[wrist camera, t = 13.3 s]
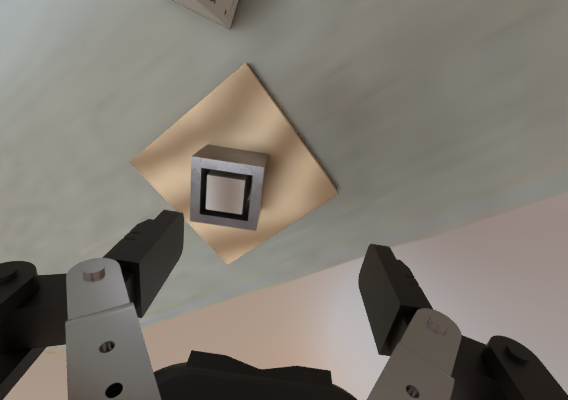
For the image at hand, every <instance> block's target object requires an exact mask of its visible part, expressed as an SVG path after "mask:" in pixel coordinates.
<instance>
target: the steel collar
mask: <svg viewBox="0 0 568 400" xmlns="http://www.w3.org/2000/svg"><path fill="white" fill-rule="evenodd" d="M268 157H269V154H266V153H260V152H254V151H247V150H241V149H234V148H228V147H221V146H215V145H209V144H207V145H206V146H204V147H203V148H202V149H200V150H199V151H198V152H196V153H195V154H194V155H192V156H191V191H190V221H192V222H199V223H206V224H212V225H219V226H226V227H233V228H240V229H246V230H253V231H256V230H257V226H258V222H259V218H260V214H261V210H262V203H263V195H264V187H265V180H266V172H267V165H268ZM212 169H213V170H220V171H226V172H233V173H239V174H246V175H252V176H253V180H252V189H251V198H250V200H247V202H246V205H245V207H244V210H243V213H242V214H235V213H228V212H221V211H215V210H208V209H206V191H207V175H208V174H209V172H210V171H211V170H212Z"/></svg>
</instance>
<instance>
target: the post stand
mask: <svg viewBox="0 0 568 400" xmlns="http://www.w3.org/2000/svg"><path fill="white" fill-rule="evenodd" d="M207 144H209V145H215V146H221V147H228V148H234V149H241V150H247V151H254V152H260V153H266V154H269V157H268V165H267V172H266V180H265V187H264V195H263V203H262V210H261V214H260V218H259V222H258V226H257V230H256V231H253V230H246V229H240V228H233V227H226V226H219V225H212V224H206V223H199V222H192V221H190V191H191V156H192V155H194V154H195V153H196V152H198V151H199V150H200V149H202V148H203V147H204V146H206V145H207ZM130 163H131V164H132V165H133V166H134V167H135V168H136V169H137V170H138V171H139V172H140V173H141V174H142V175H143V176H144V177H145V178H146V180H147V181H148V182H149V183H150V184H151V185H152V186H153V187H154V188H155V189H156V190H157V191H158V192H159V193H160V194H161V195H162V196H163V197H164V198H165V199H166V200H167V201H168V203H169V204H170V205H171V206H172V207H173V208H174V209H175V210H176V211H177V212H182V213H183V214H184V219H185V220H186V221H187V222H188V223H189V224H190V226H191V227H192V228H193V229H194V230H195V231H196V232H197V233H198V234H199V235H200V236H201V237H202V238H203V239H204V240H205V241H206V242H207V243H208V244H209V245H210V246H211V247H212V249H213V250H214V251H215V252H216V253H217V254H218V255H219V256H220V257H221V258H222V259H223V260H224V261H225V262H226V263H227V264H230V263H231V262H233V261H234V260H236V259H237V258H239V257H240V256H242V255H244V254H245V253H247V252H248V251H250V250H251V249H253V248H255V247H256V246H258V245H259V244H261V243H262V242H264V241H265V240H267V239H269V238H270V237H272V236H273V235H275V234H276V233H278V232H280V231H281V230H283V229H284V228H286V227H287V226H289V225H290V224H292V223H294V222H295V221H297V220H298V219H300V218H301V217H303V216H305V215H306V214H308V213H309V212H311V211H312V210H314V209H315V208H317V207H319V206H320V205H322V204H323V203H325V202H326V201H328V200H330V199H331V198H333V197H334V196H336V195H337V194H339V193H338V191H337V188H336V187H335V186H334V184H333V183H332V181H331V180H330V179H329V177H328V176H327V174H326V173H325V172H324V170H323V169H322V167H321V166H320V165H319V163H318V162H317V160H316V159H315V158H314V156H313V155H312V153H311V152H310V150H309V149H308V148H307V146H306V145H305V143H304V142H303V141H302V139H301V138H300V136H299V135H298V134H297V132H296V131H295V129H294V128H293V127H292V125H291V124H290V122H289V121H288V120H287V118H286V117H285V115H284V114H283V113H282V111H281V110H280V108H279V107H278V106H277V104H276V103H275V101H274V100H273V99H272V97H271V96H270V94H269V93H268V92H267V90H266V89H265V87H264V86H263V85H262V83H261V82H260V80H259V79H258V77H257V76H256V75H255V73H254V72H253V70H252V69H251V68H250V66H249V65H248V64H247V63H244V64H243V65H242V66H241V67H240V68H239V69H237V70H236V71H235V72H234V73H233V74H232V75H230V76H229V77H228V78H227V79H226V80H225V81H223V82H222V83H221V84H220V85H219V86H218V87H217V88H215V89H214V90H213V91H212V92H211V93H210V94H208V95H207V96H206V97H205V98H204V99H203V100H201V101H200V102H199V103H198V104H197V105H196V106H194V107H193V108H192V109H191V110H190V111H189V112H187V113H186V114H185V115H184V116H183V117H182V118H180V119H179V120H178V121H177V122H176V123H175V124H174V125H172V126H171V127H170V128H169V129H168V130H167V131H165V132H164V133H163V134H162V135H161V136H160V137H158V138H157V139H156V140H155V141H154V142H153V143H151V144H150V145H149V146H148V147H147V148H146V149H144V150H143V151H142V152H141V153H140V154H139V155H137V156H136V157H135V158H134V159H133V160H132V161H131V162H130ZM252 180H253V176H252V175H246V174H239V173H233V172H226V171H220V170H213V169H212V170H211V171H210V172H209V174H208V175H207V191H206V209H208V210H215V211H221V212H228V213H235V214H242V213H243V210H244V207H245V205H246V202H247V200H250V198H251V189H252Z"/></svg>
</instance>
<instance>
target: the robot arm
mask: <svg viewBox="0 0 568 400" xmlns="http://www.w3.org/2000/svg"><path fill="white" fill-rule="evenodd" d="M183 239H184V214H183V213H182V212H176V211H169V210H163V211H162V212H161V213H160V214H159V215H158V216H157V217H156V218H155V219H154V220H152V219H148V220H146V221H144V222H141V223H139V224H137V225H136V226H135V227H134V228H133V229H132V230H131V231H130V233H128V234H127V235H126V236H125V237H124V239H122V240H120V241H119V242H118V243H117V244H116V245H115V246H114V247H113V248H112V249H111V250H110V251H109V252H108V253H107V254H106V255H105V256H104V257H103V258H95V259H90V260H86V261H83V262H81V263H79V264H77V265H75V266H74V267H72V268H71V269H70V270H69V271H68V273H67V274H54V275H38V274H37V270H36V267H35V266H34V264H32V263H29V262H25V261H12V262H5V263H1V264H0V400H3V399H4V398H5V396H6V395H7V394H8V393H9V392H10V390H11V389H12V388H13V386H15V384H16V383H17V382H18V381H19V379H20V378H21V377H22V376H23V375H24V374H25V372H26V371H27V370H28V369H29V367H30V366H31V365H32V364H33V363H34V361H35V360H36V359H37V358H38V357H39V355H40V354H41V353H42V352H43V351H44V349H45V348H46V347H48V346H56V345H64V344H66V356H67V386H68V400H357V399H356V398H355V397H354V396H352V395H351V394H350V393H348V392H346V391H345V390H344V389H342V388H340V387H338V386H336V385H334V384H332V379H331V371H328V370H321V369H315V368H307V367H301V366H291V367H282V368H272V369H257V368H255V367H253V366H250V365H248V364H245V363H243V362H241V361H238V360H236V359H233V358H231V357H229V356H226V355H220V354H212V353H205V352H198V351H191V354H190V356H189V359H188V362H185V363H179V364H175V365H171V366H168V367H165V368H162V369H160V370H158V371H155V372H153V369H152V366H151V362H150V359H149V355H148V352H147V348H146V345H145V341H144V338H143V334H142V331H141V327H140V324H139V320H138V317H139V318H142V317H143V316H144V314H145V313H146V311H147V309H148V308H149V306H150V305H151V303H152V301H153V300H154V298H155V297H156V295H157V293H158V292H159V290H160V289H161V287H162V286H163V284H164V282H165V281H166V279H167V278H168V276H169V274H170V273H171V271H172V270H173V268H174V266H175V265H176V263H177V262H178V260H179V258H180V256H181V254H182V250H183ZM359 289H360V292H361V296H362V299H363V302H364V306H365V309H366V313H367V316H368V319H369V322H370V326H371V329H372V333H373V336H374V339H375V343H376V346H377V350H378V353H379V355H386V356H391V357H390V358H389V360H388V362H387V364H386V366H385V367H384V369H383V371H382V373H381V375H380V377H379V378H378V380H377V382H376V384H375V386H374V388H373V389H372V391H371V393H370V395H369V397H368V398H367V400H568V395H567V394H566V392H565V391H564V390H563V389H562V387H561V386H560V385H559V384H558V382H557V381H556V380H555V379H554V378H553V376H552V375H551V374H550V372H549V371H548V370H547V369H546V367H545V366H544V365H543V364H542V362H541V361H540V360H539V359H538V358H537V356H536V355H534V353H532V352H531V351H530V350H529V349H527V348H526V347H525V346H523V345H522V344H520V343H518V342H517V341H515V340H513V339H510V338H508V337H504V336H493V337H491V339H490V340H489V342H488V343H487V345H485V344H483V343H480V342H478V341H475V340H473V339H470V338H467V337H465V336H463V335H461V332H460V329H459V328H458V326H457V325H456V324H455V323H454V322H453V321H452V320H451V319H450V318H449V317H447V316H446V315H444V314H442V313H440V312H438V311H436V310H433V308H432V306H431V305H430V303H429V301H428V300H427V298H426V296H425V295H424V293H423V291H422V289H421V288H420V287H419V284H418V282H417V281H416V279H414V276H413V274H412V272H411V271H410V269H409V268H408V267H407V266H406V265H405V264H404V263H403V262H402V261H401V260H397V259H396V258H395V256H394V254H393V252H392V251H391V249H390V247H388V246H382V245H376V244H370V245H369V247H368V250H367V253H366V255H365V258H364V261H363V264H362V267H361V270H360V274H359Z"/></svg>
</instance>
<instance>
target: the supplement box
mask: <svg viewBox="0 0 568 400" xmlns="http://www.w3.org/2000/svg"><path fill="white" fill-rule="evenodd" d="M174 1H175V2H177V3H179V4H181V5H183V6H185V7H187V8H188V9H190V10H192V11H194V12H196V13H198V14H200V15H202V16H204V17H206V18H208V19H210V20H212V21H214V22H216V23H218V24H220V25H222V26H224V27H226V28H228V29H230V27H231V24H232V20H233V17H234V14H235V10H236V7H237V4H238V1H239V0H174Z"/></svg>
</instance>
